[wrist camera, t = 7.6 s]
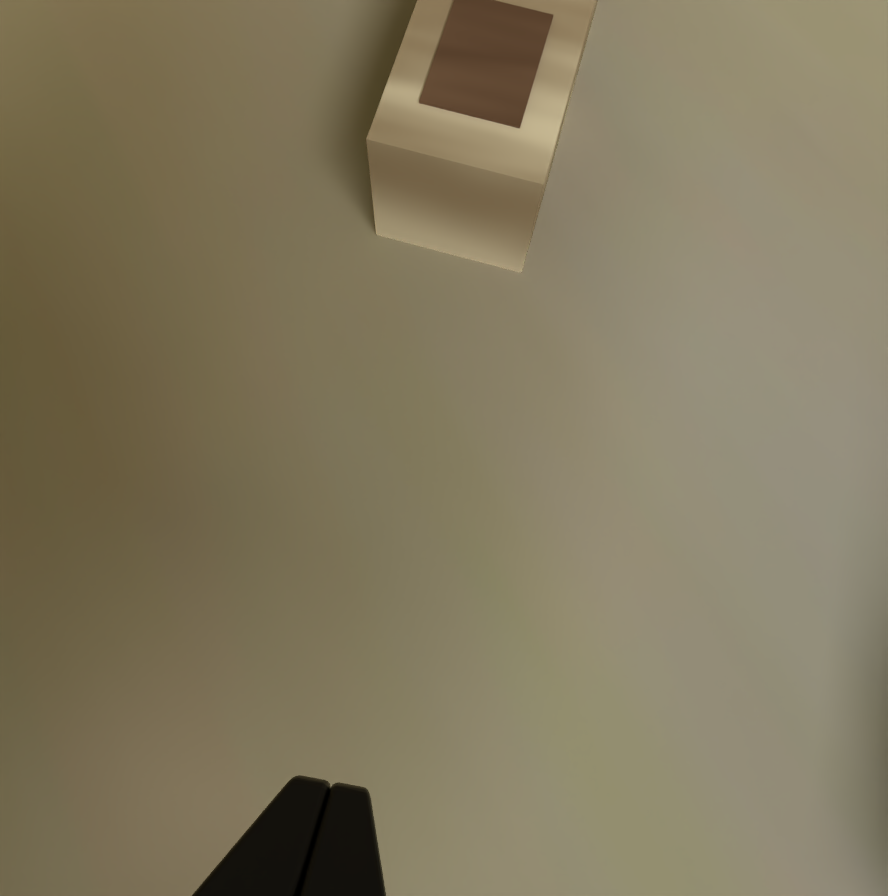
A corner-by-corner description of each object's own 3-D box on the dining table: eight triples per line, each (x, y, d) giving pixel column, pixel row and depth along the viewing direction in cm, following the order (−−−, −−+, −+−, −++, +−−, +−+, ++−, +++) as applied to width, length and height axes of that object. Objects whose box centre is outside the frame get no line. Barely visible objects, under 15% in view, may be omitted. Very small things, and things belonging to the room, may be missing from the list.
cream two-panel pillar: (544, 182, 18) (642, -168, 22) (365, 136, 19) (490, -203, 22) (520, 276, 23) (605, -26, 26) (376, 238, 23) (479, -57, 26)
